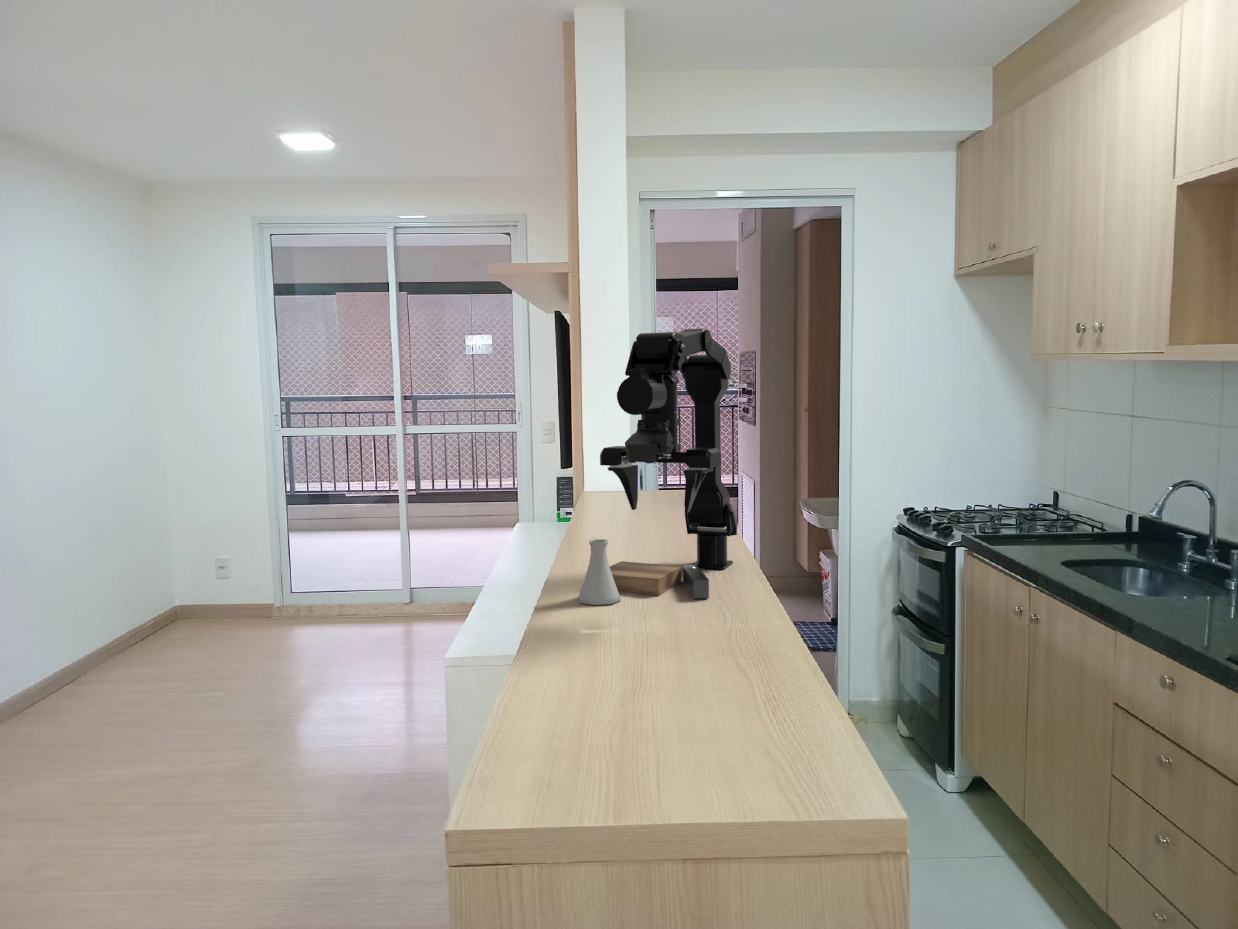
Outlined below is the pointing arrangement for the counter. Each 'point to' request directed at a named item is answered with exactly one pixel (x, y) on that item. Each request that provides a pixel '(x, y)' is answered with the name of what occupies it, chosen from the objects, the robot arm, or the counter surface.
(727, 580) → the counter surface
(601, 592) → the flask
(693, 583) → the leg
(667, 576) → the tan square panel
